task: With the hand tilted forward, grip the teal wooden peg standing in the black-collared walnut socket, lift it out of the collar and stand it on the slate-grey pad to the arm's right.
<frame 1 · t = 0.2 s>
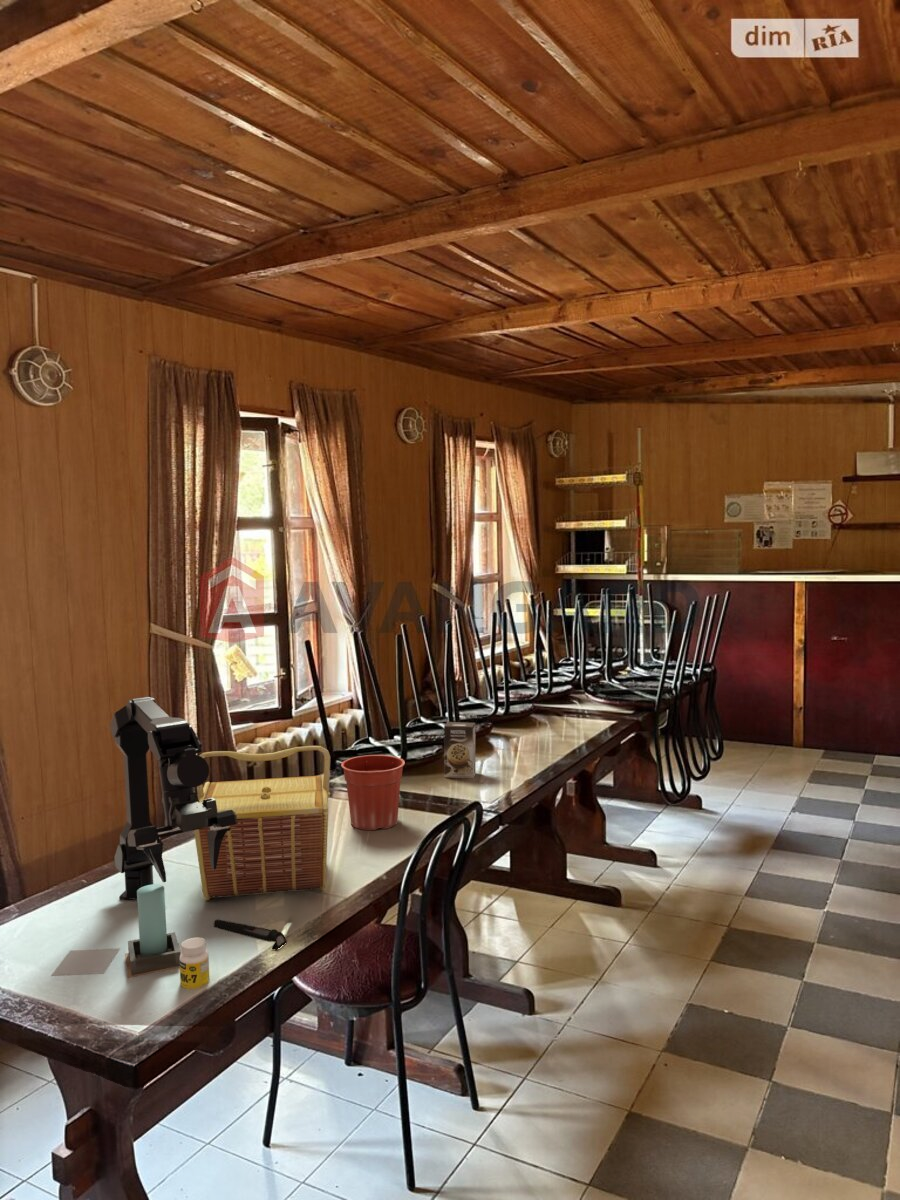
hand: (189, 875, 162), 15 cm above the table, tool tilted 15°, fingers open, 9 cm apart
supplement bottle: (195, 990, 151), on the table
pad: (87, 969, 158), on the table
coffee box: (460, 775, 273), on the table
electric trimmer: (249, 942, 169), on the table
picnic basket: (267, 882, 196), on the table
peg: (154, 959, 158), point 1 cm above the table, touching socket
flower pot: (374, 823, 232), on the table
socket: (154, 967, 159), on the table
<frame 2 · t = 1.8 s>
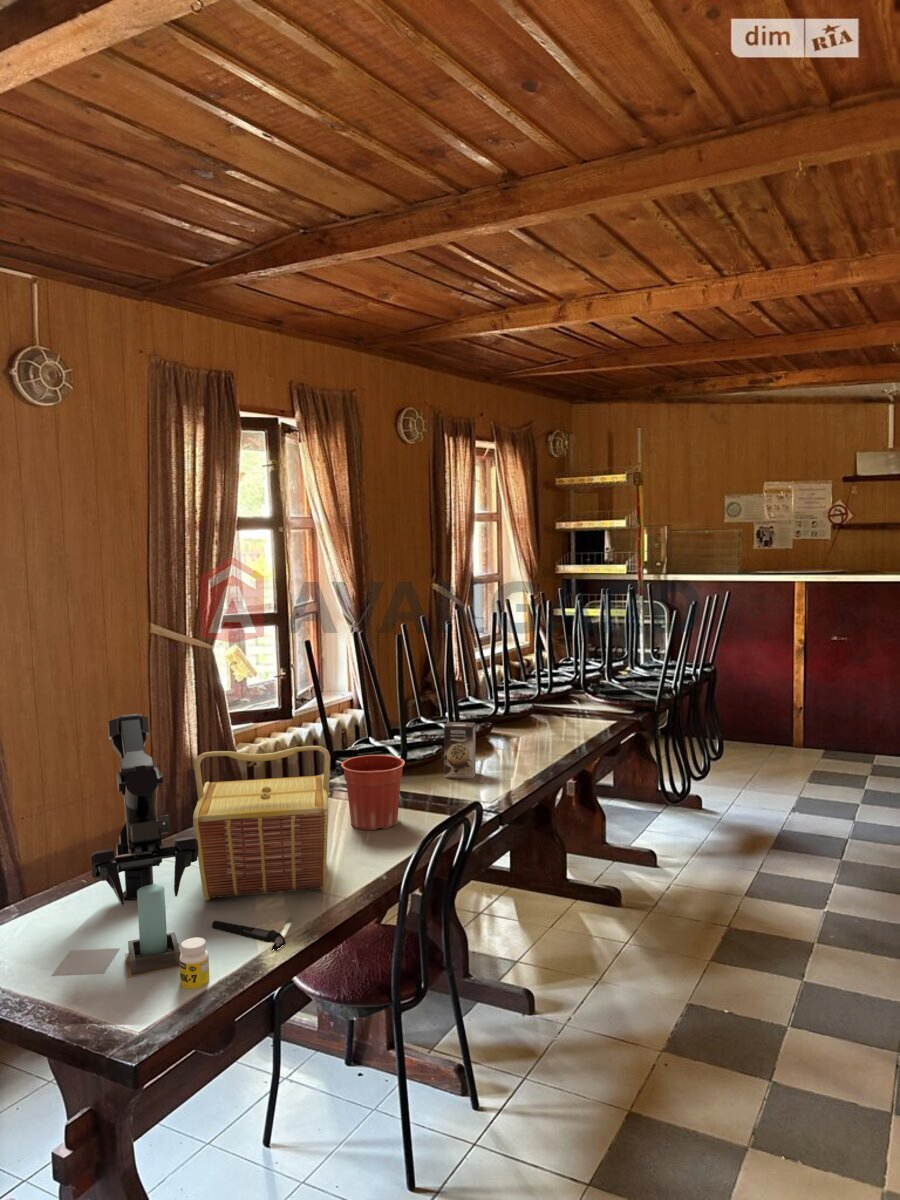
hand: (149, 900, 160), 11 cm above the table, tool tilted 45°, fingers open, 9 cm apart
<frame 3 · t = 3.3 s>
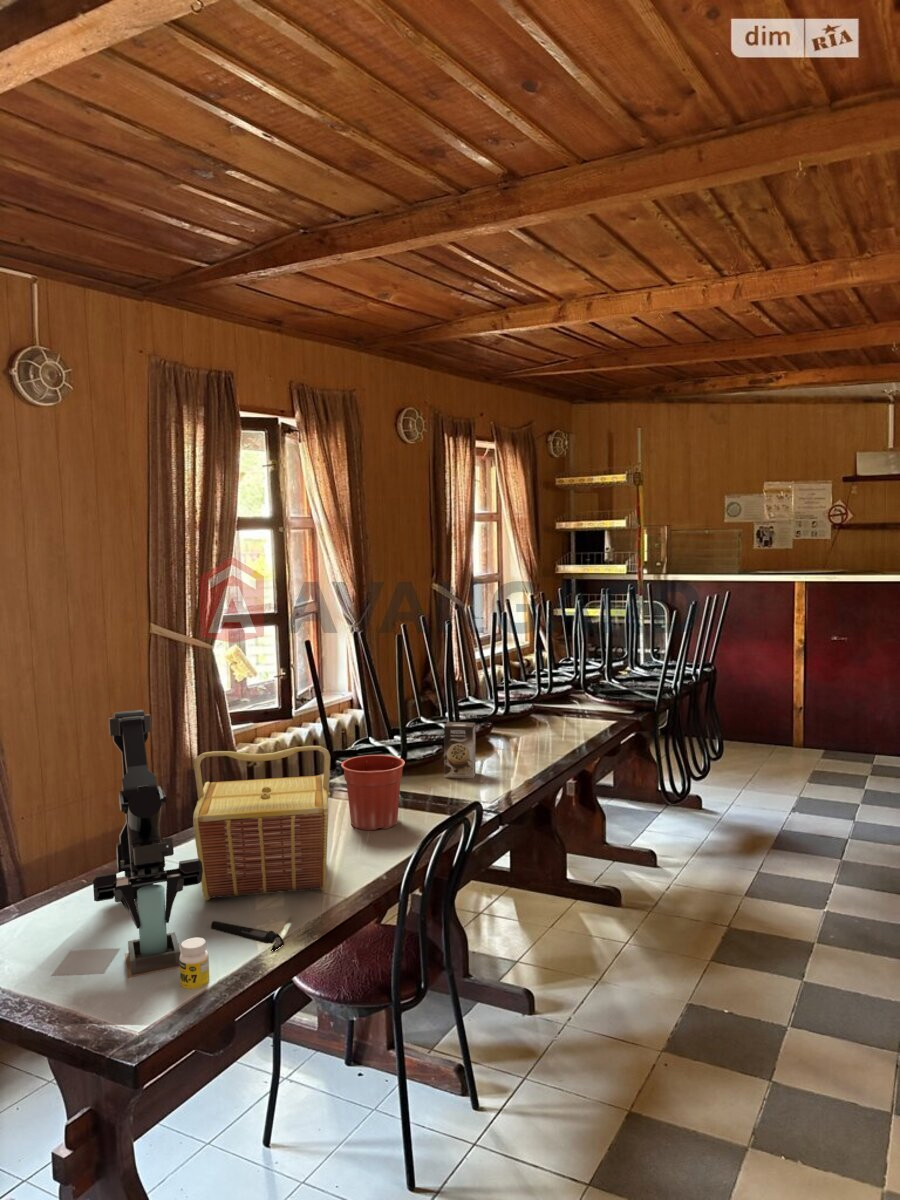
hand: (153, 925, 157), 9 cm above the table, tool tilted 45°, fingers closed on peg, 5 cm apart
peg: (154, 959, 158), point 2 cm above the table, touching gripper, socket
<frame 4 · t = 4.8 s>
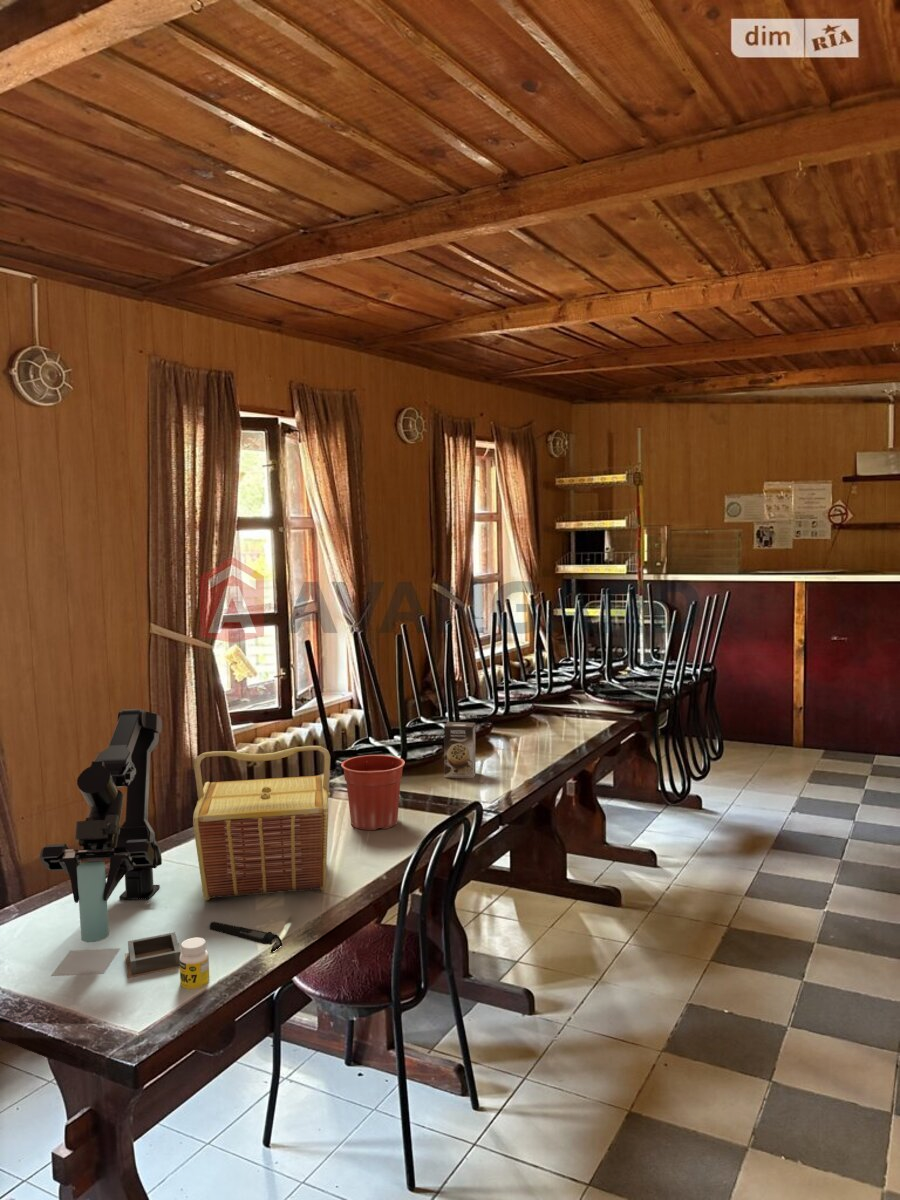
hand: (90, 901, 156), 13 cm above the table, tool tilted 45°, fingers closed on peg, 5 cm apart
peg: (95, 936, 158), point 6 cm above the table, touching gripper
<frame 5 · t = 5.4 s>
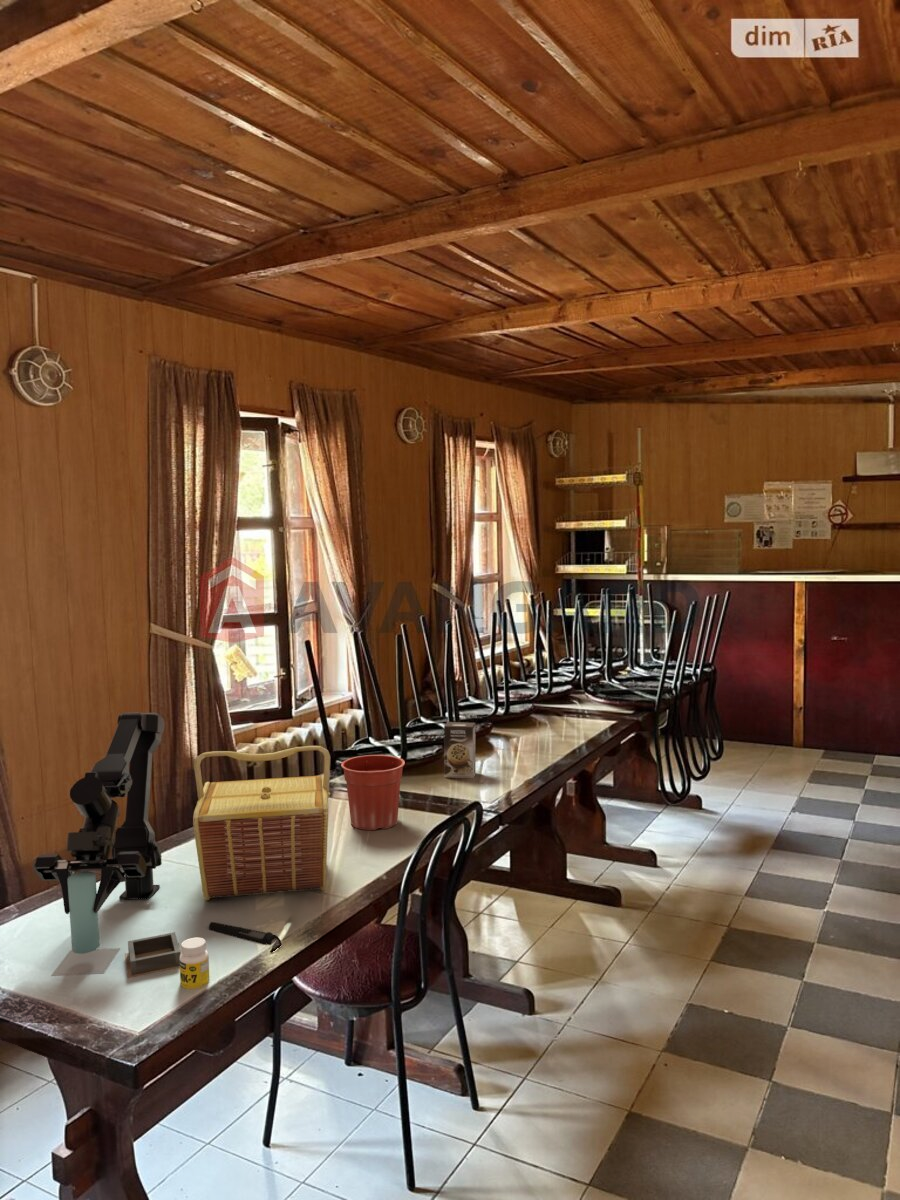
hand: (80, 912, 156), 11 cm above the table, tool tilted 45°, fingers closed on peg, 5 cm apart
peg: (85, 947, 158), point 4 cm above the table, touching gripper
when the fingers open (9 cm above the table, at t = 6.0 s): peg stays where it is, resting on pad.
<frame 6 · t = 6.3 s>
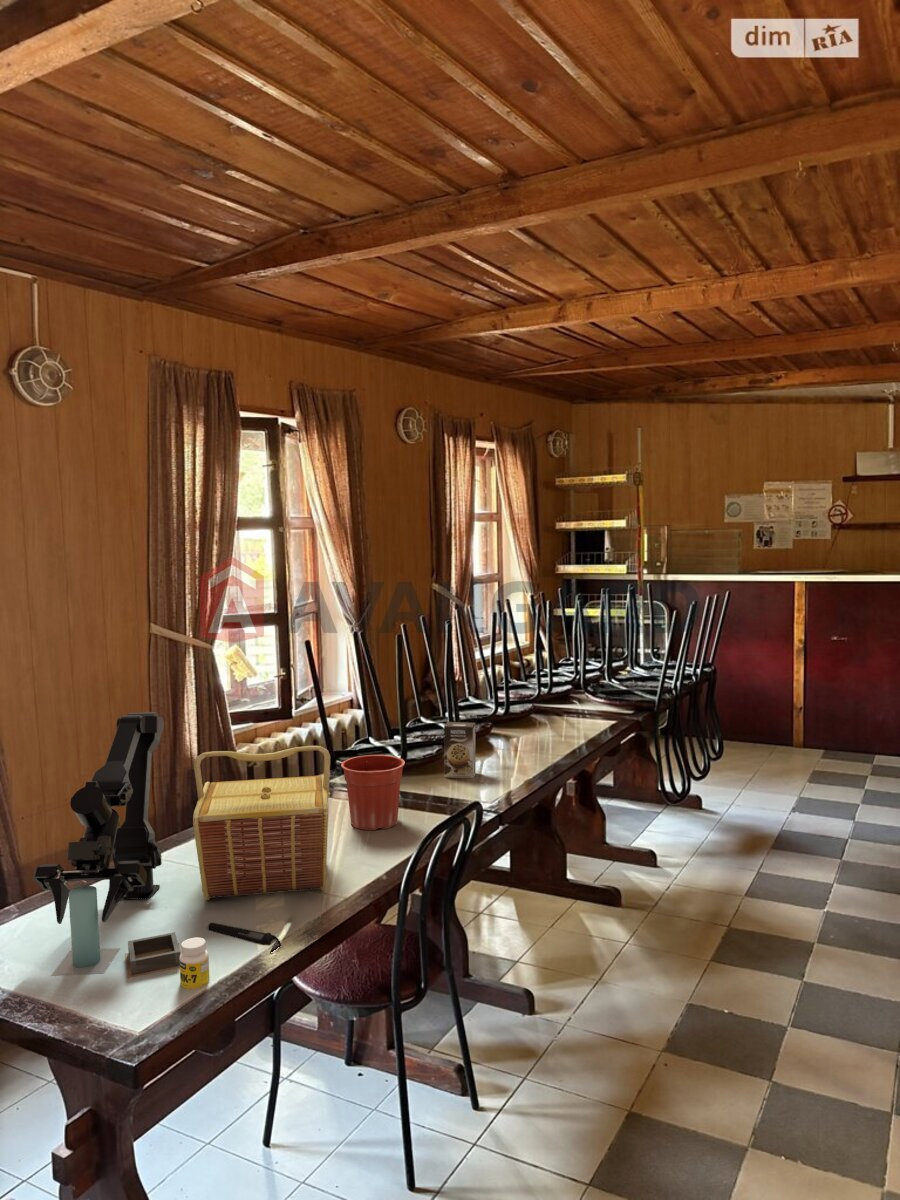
hand: (81, 922, 156), 9 cm above the table, tool tilted 45°, fingers open, 7 cm apart
peg: (86, 961, 158), point 1 cm above the table, touching pad
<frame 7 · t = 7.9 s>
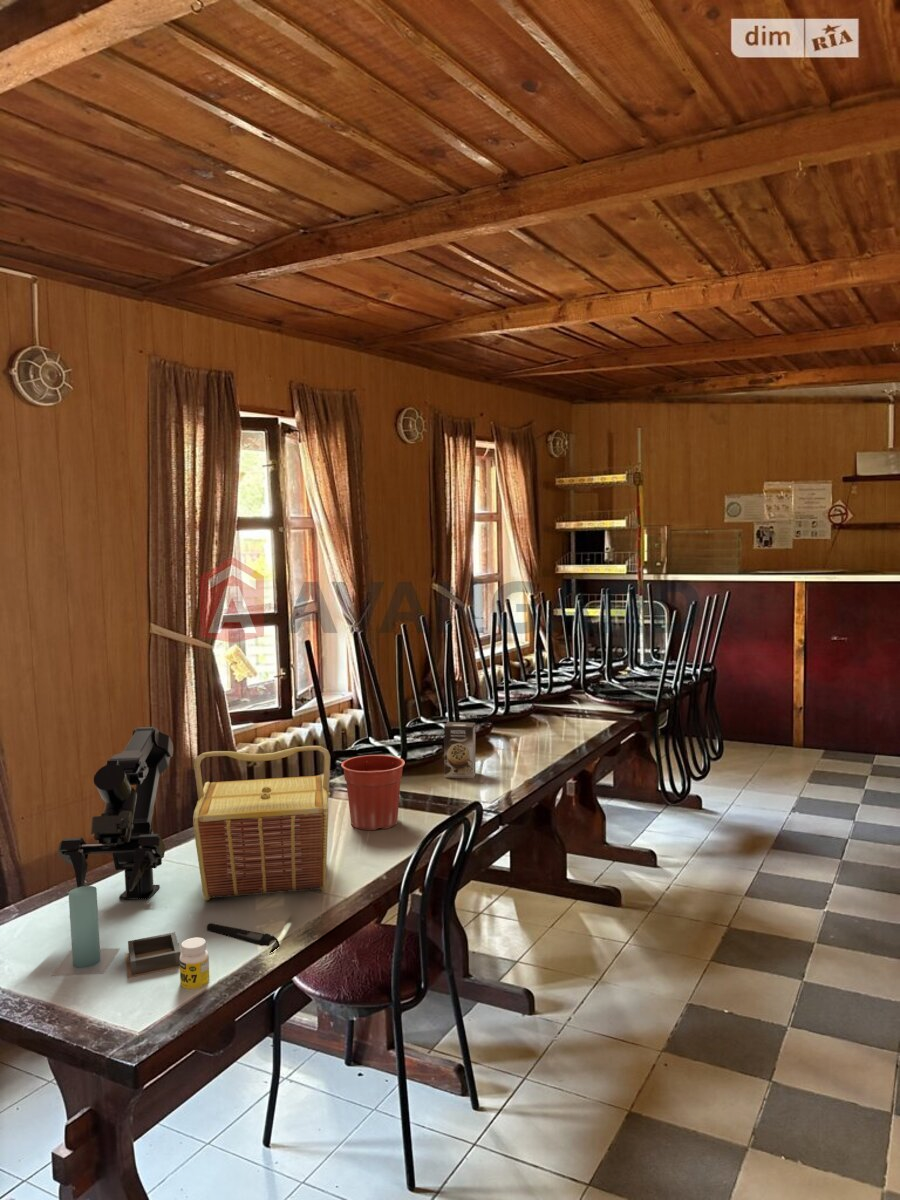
hand: (105, 891, 166), 11 cm above the table, tool tilted 45°, fingers open, 9 cm apart
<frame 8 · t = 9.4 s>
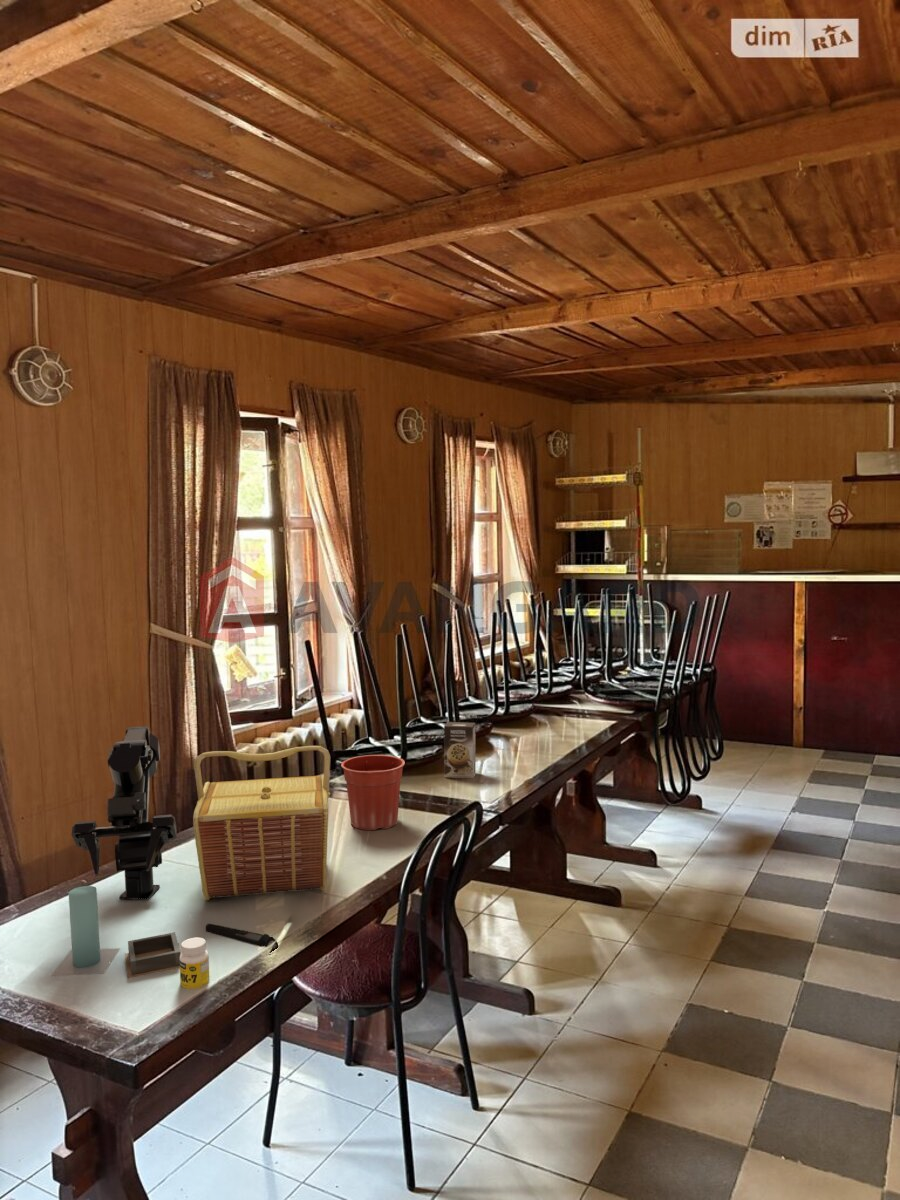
hand: (122, 872, 168), 14 cm above the table, tool tilted 45°, fingers open, 9 cm apart
at the end: peg inside the target area on the pad (0.0 cm from its centre), point 1.5 cm above the pad's base; peg tilted 0°; the gripper is holding nothing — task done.
